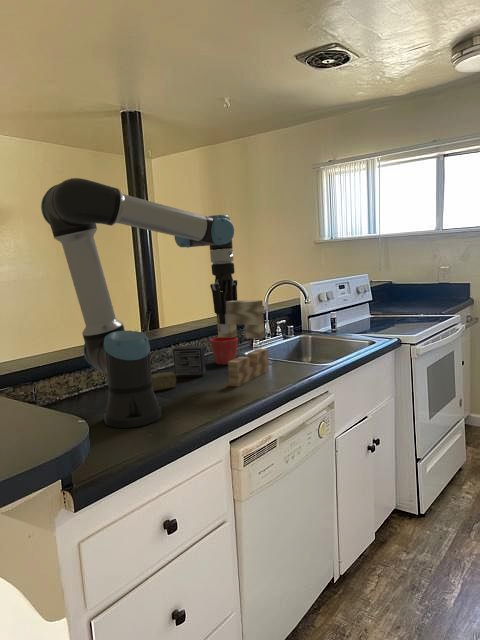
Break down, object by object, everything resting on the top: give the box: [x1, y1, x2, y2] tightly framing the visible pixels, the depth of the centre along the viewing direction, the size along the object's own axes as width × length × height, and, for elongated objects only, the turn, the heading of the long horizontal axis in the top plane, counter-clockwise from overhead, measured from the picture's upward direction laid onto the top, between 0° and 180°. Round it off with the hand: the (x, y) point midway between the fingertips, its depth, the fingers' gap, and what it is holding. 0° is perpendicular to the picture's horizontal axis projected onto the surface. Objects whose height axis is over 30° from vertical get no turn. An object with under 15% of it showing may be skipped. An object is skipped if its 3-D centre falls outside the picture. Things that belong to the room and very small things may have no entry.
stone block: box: [152, 371, 177, 392], centre depth 161 cm, size 6×12×5 cm, turn 115°
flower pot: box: [209, 336, 239, 365], centre depth 194 cm, size 11×11×10 cm
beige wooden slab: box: [216, 300, 266, 340], centre depth 161 cm, size 16×4×12 cm, turn 59°
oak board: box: [227, 348, 270, 387], centre depth 168 cm, size 22×4×8 cm, turn 150°
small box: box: [172, 344, 207, 378], centre depth 177 cm, size 11×6×10 cm, turn 84°
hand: (228, 332), depth 164 cm, fingers closed on beige wooden slab, 3 cm apart
